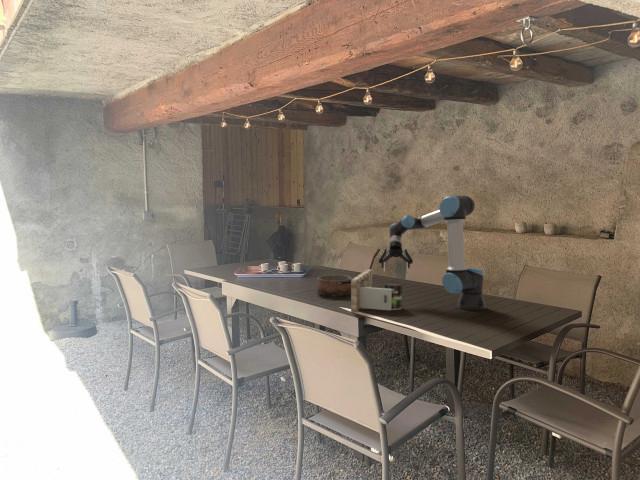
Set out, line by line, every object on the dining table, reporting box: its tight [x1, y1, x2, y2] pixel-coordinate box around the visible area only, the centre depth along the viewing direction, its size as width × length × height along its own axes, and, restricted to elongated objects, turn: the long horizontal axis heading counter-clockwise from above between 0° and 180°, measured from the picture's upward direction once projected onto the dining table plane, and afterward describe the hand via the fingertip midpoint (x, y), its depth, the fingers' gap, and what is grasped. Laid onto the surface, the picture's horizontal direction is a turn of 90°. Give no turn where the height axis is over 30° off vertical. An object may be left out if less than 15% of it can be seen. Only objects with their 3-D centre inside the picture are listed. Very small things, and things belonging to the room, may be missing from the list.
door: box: [359, 286, 392, 311], centre depth 262 cm, size 20×3×12 cm, turn 71°
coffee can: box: [383, 281, 403, 311], centre depth 266 cm, size 10×10×14 cm
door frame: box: [350, 269, 373, 313], centre depth 275 cm, size 38×3×18 cm, turn 161°
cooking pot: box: [316, 274, 352, 298], centre depth 306 cm, size 30×22×11 cm
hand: (395, 272), depth 276 cm, fingers open, 13 cm apart
